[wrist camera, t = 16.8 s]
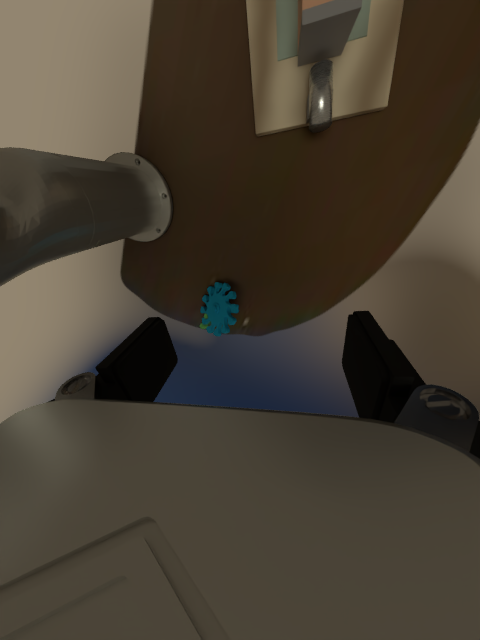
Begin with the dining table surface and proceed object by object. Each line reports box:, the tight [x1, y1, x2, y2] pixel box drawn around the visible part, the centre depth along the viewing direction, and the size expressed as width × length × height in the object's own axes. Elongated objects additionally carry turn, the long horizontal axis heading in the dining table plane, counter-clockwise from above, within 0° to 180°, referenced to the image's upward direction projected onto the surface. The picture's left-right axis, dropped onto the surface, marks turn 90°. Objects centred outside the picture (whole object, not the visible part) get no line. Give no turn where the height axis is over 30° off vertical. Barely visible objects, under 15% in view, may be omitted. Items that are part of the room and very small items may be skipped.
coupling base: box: [246, 0, 404, 137], centre depth 21 cm, size 15×18×3 cm
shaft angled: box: [309, 59, 333, 133], centre depth 23 cm, size 2×5×4 cm, turn 8°
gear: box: [200, 282, 239, 336], centre depth 41 cm, size 11×6×10 cm
